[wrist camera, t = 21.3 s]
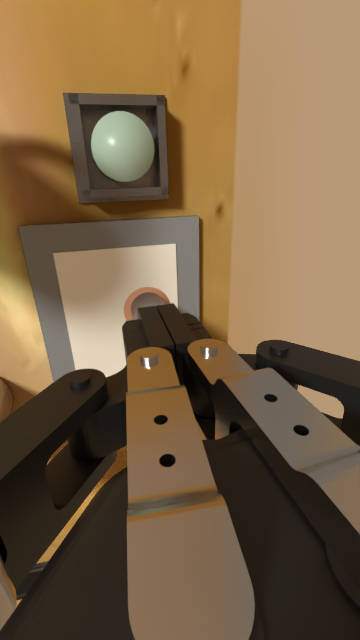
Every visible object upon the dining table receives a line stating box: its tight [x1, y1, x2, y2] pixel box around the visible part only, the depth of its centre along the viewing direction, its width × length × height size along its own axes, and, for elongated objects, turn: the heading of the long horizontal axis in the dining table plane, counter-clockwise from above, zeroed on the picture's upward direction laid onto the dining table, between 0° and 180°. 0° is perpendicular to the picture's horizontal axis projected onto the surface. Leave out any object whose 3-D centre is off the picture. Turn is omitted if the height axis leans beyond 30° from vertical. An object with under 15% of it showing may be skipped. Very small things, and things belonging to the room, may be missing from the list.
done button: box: [91, 111, 154, 182], centre depth 31 cm, size 6×6×2 cm
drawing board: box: [18, 215, 199, 382], centre depth 41 cm, size 26×20×1 cm
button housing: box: [63, 93, 169, 203], centre depth 32 cm, size 10×10×3 cm
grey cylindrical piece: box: [131, 292, 165, 320], centre depth 36 cm, size 5×5×11 cm
